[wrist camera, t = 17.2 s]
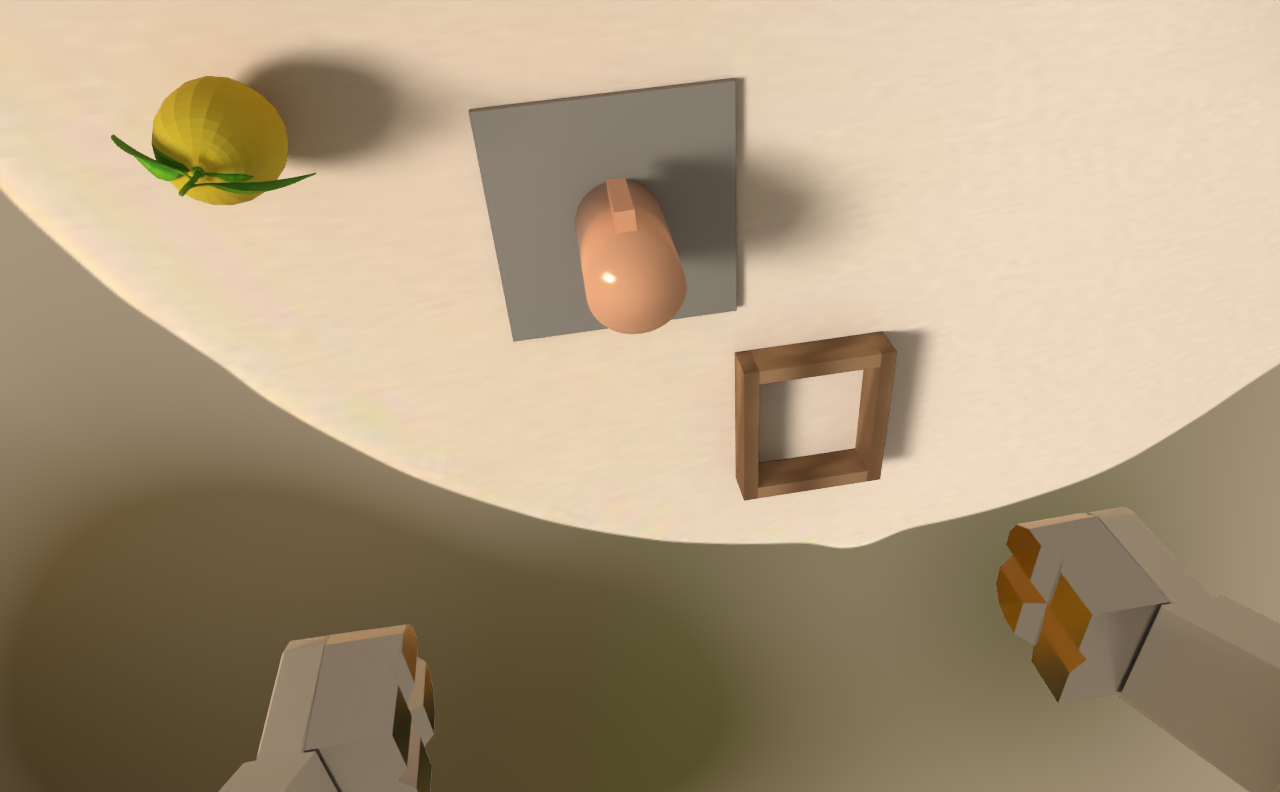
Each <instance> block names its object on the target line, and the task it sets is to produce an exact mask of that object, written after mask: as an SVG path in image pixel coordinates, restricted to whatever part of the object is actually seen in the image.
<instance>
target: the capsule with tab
mask: <svg viewBox="0 0 1280 792" xmlns="http://www.w3.org/2000/svg"><path fill="white" fill-rule="evenodd" d="M575 228H576V235H577V241H578V247H579V254H580V260H581V267H582V273H583V279H584V286H585V292H586V298H587V303H588V306H589V308H590V311H591V312H592V314H593V315H594V317H595V318H596V319H597V320H598V321H599V322H600V323H601V324H603V325H604V326H606V327H607V328H609V329H611V330H614V331H617V332H620V333H626V334H640V333H646V332H649V331H652V330H655V329H657V328H659V327H661V326H663V325H664V324H666V323H667V322H669V321H670V320H671V319H672V318H673V317H674V316H675V315H676V314H677V312H678V311H679V310H680V308H681V306H682V304H683V302H684V299H685V296H686V290H687V283H686V277H685V274H684V271H683V268H682V265H681V262H680V260H679V257H678V254H677V251H676V249H675V246H674V243H673V240H672V238H671V235H670V232H669V229H668V227H667V224H666V221H665V218H664V215H663V213H662V210H661V207H660V204H659V202H658V200H657V199H656V197H655V196H654V195H653V193H652V192H651V191H650V190H648V189H647V188H646V187H644V186H643V185H641V184H639V183H636V182H633V181H629V180H626V179H625V177H624V178H618V179H612V180H606V182H605V183H602V184H600V185H598V186H596V187H595V188H593V189H592V190H591V191H589V192H588V193H587V194H586V195H585V197H584V198H583V199H582V201H581V202H580V204H579V206H578V209H577V212H576V216H575Z"/></svg>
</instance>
